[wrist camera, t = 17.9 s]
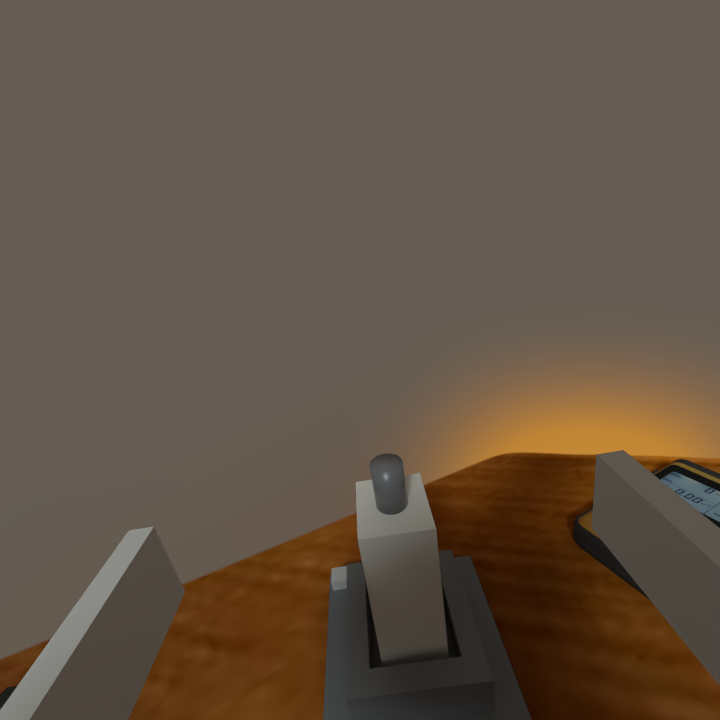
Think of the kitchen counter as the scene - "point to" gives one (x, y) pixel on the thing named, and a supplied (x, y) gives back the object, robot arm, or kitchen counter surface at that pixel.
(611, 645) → the kitchen counter surface
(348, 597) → the socket
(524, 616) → the kitchen counter surface
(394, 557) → the plug
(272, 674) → the kitchen counter surface
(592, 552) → the electronic device
